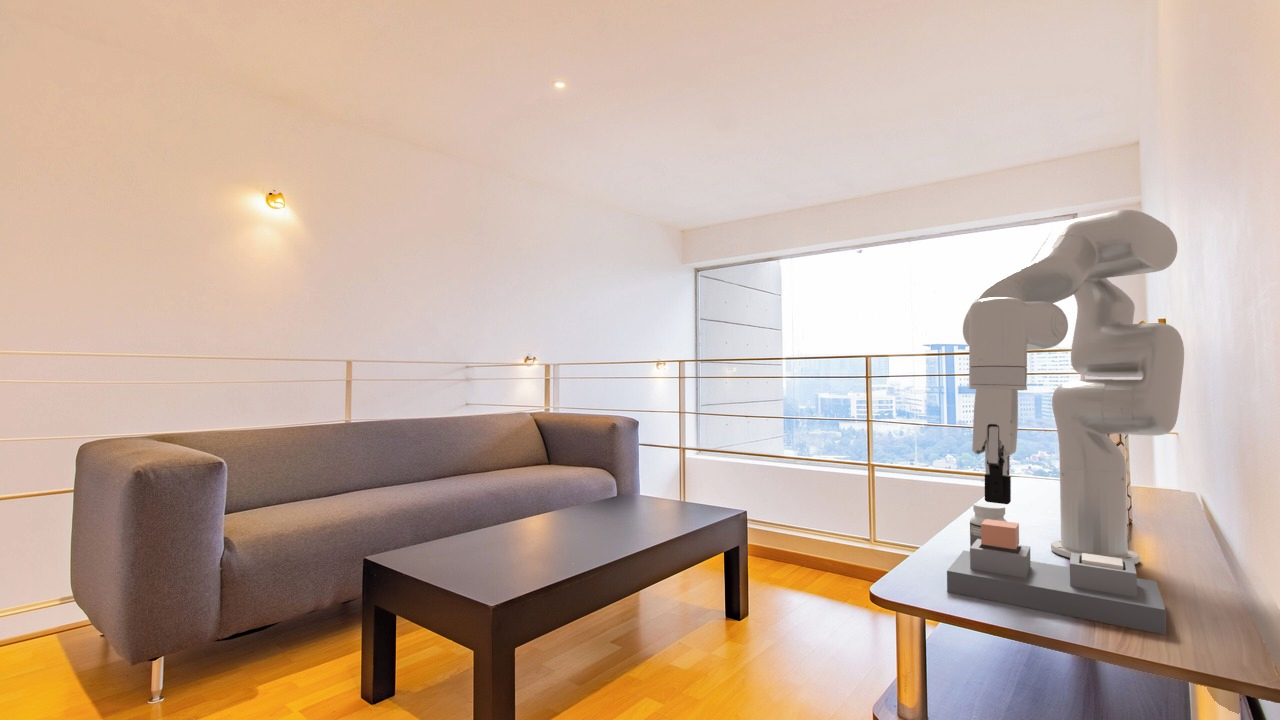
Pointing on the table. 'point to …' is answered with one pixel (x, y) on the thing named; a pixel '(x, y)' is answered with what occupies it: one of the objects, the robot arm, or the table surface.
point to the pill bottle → (981, 514)
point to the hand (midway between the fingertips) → (997, 502)
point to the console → (1059, 586)
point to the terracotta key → (1000, 533)
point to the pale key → (1102, 561)
